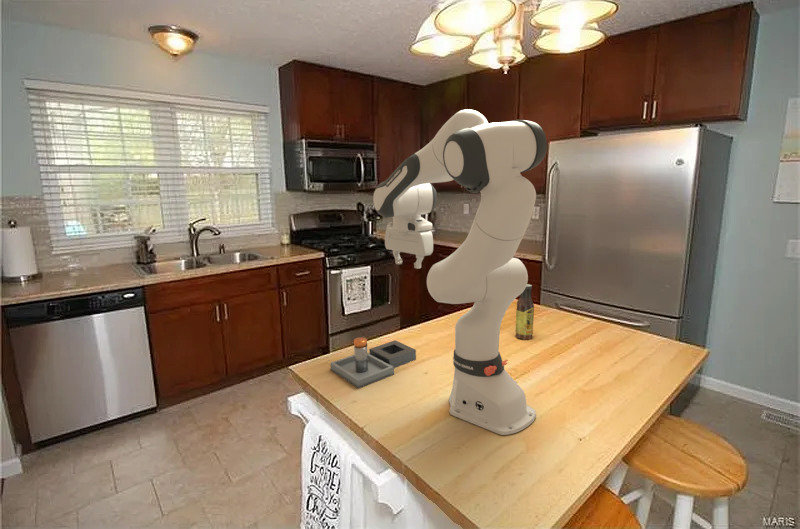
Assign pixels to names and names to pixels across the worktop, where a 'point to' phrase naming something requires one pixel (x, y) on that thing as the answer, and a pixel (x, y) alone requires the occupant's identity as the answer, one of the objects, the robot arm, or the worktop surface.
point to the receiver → (394, 353)
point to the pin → (361, 355)
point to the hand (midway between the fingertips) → (408, 266)
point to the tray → (359, 380)
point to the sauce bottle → (525, 314)
